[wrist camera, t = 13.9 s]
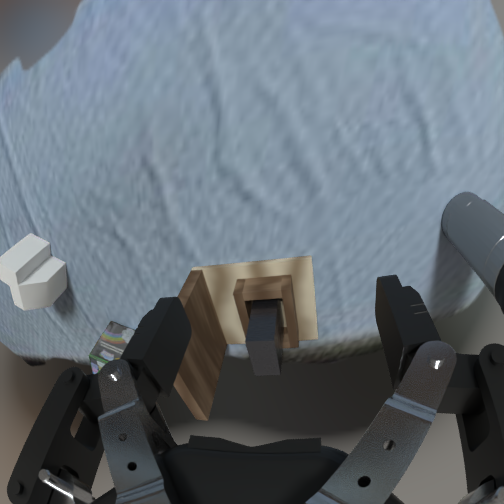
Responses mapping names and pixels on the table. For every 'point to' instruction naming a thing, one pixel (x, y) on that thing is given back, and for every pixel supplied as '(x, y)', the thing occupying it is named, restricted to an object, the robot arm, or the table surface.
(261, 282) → the post socket
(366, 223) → the table surface
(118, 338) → the chalk box
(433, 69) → the table surface
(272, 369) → the dark grey block
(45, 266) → the white stepped block
